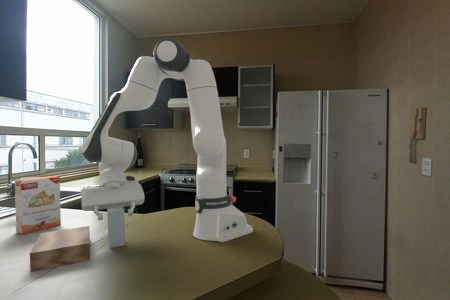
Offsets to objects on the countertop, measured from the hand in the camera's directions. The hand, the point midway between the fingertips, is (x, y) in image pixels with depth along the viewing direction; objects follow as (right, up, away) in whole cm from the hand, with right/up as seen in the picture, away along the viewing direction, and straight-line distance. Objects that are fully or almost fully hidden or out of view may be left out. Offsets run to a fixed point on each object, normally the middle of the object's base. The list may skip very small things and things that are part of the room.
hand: (116, 216), depth 86 cm
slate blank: (0, -9, 0) cm, 9 cm away
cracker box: (-39, -10, +18) cm, 44 cm away
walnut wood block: (-13, -10, -7) cm, 18 cm away
